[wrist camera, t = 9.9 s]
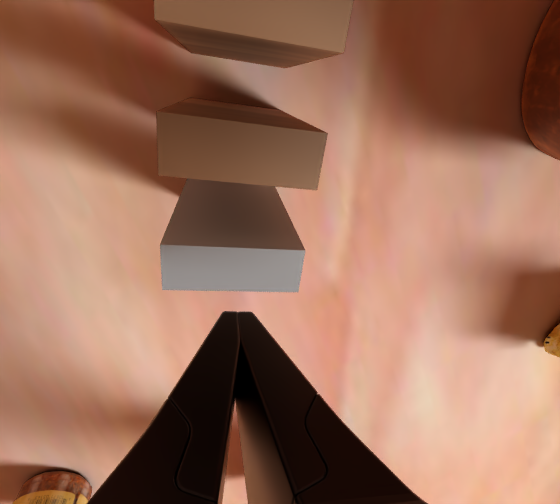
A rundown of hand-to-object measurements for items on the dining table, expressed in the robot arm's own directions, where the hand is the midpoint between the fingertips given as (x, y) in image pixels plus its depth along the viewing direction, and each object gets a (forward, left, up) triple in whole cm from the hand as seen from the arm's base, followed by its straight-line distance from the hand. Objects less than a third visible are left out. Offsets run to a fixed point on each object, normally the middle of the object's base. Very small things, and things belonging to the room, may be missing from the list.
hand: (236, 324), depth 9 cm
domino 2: (+2, -3, -13) cm, 14 cm away
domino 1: (0, 0, -13) cm, 13 cm away
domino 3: (+5, -6, -13) cm, 15 cm away
